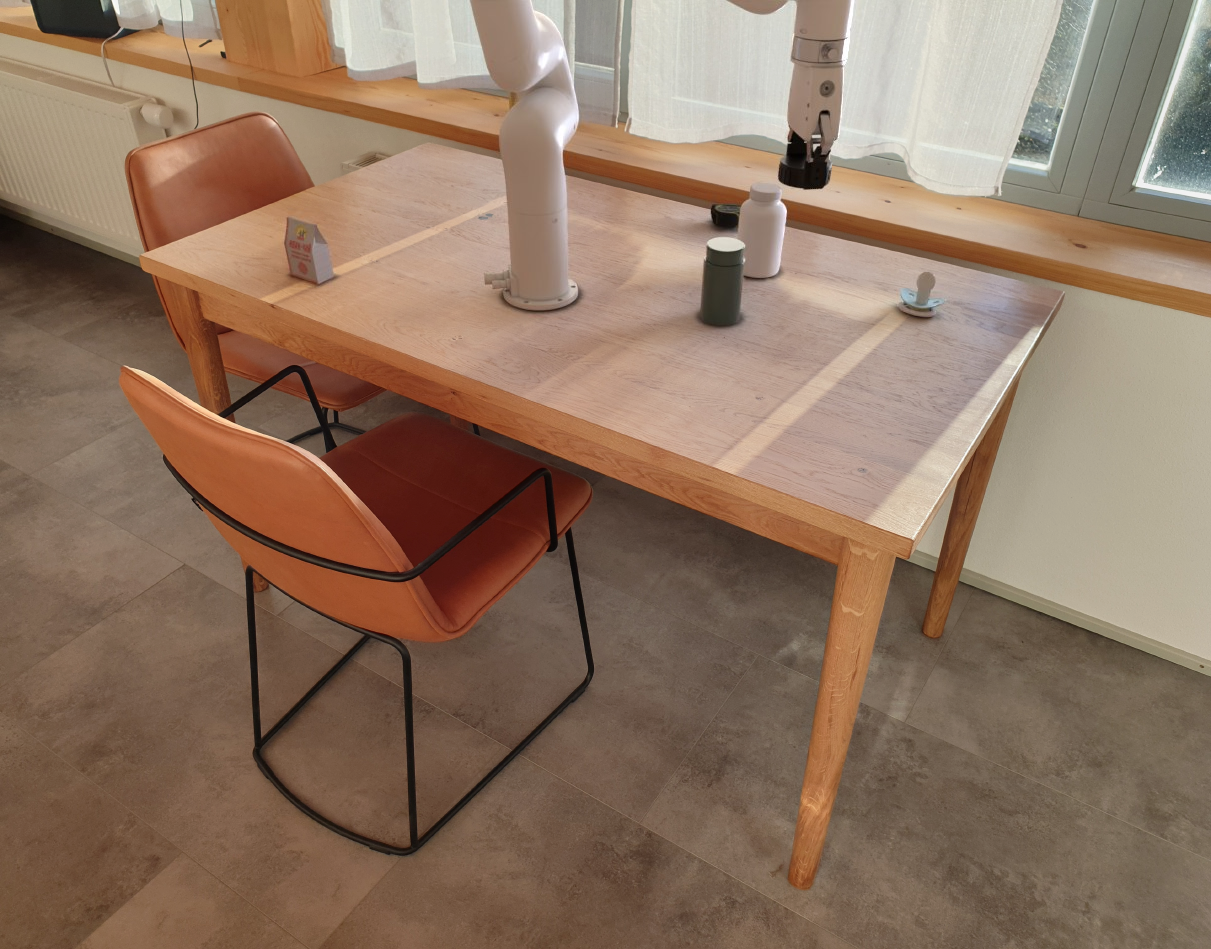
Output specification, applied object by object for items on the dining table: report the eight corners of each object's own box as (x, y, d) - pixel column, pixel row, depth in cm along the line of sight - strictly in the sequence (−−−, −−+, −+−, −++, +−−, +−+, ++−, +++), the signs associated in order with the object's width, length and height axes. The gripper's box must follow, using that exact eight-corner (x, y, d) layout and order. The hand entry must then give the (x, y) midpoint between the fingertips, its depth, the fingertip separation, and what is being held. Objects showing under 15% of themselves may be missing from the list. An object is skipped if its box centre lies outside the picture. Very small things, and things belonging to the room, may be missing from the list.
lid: (819, 171, 141) (822, 152, 139) (836, 187, 135) (839, 168, 133) (771, 173, 140) (773, 154, 138) (786, 190, 134) (788, 170, 132)
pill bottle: (778, 281, 163) (788, 196, 154) (732, 277, 164) (739, 193, 155) (780, 263, 169) (790, 180, 160) (736, 259, 170) (743, 177, 161)
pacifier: (931, 323, 150) (946, 309, 154) (939, 288, 146) (954, 274, 150) (889, 311, 154) (904, 297, 158) (895, 276, 150) (911, 262, 154)
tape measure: (744, 220, 186) (746, 201, 184) (746, 233, 180) (748, 214, 178) (709, 219, 186) (711, 200, 184) (711, 232, 181) (712, 213, 178)
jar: (704, 327, 149) (710, 253, 141) (695, 309, 154) (700, 237, 146) (743, 324, 149) (751, 251, 142) (733, 307, 155) (740, 235, 147)
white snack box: (306, 268, 166) (295, 213, 161) (334, 276, 164) (324, 221, 158) (290, 275, 164) (279, 220, 158) (318, 284, 161) (307, 228, 155)
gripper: (869, 63, 120) (848, 198, 131) (825, 35, 134) (809, 159, 145) (813, 65, 119) (797, 201, 130) (774, 37, 133) (762, 161, 144)
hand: (803, 178), depth 137 cm, fingers closed on lid, 7 cm apart
